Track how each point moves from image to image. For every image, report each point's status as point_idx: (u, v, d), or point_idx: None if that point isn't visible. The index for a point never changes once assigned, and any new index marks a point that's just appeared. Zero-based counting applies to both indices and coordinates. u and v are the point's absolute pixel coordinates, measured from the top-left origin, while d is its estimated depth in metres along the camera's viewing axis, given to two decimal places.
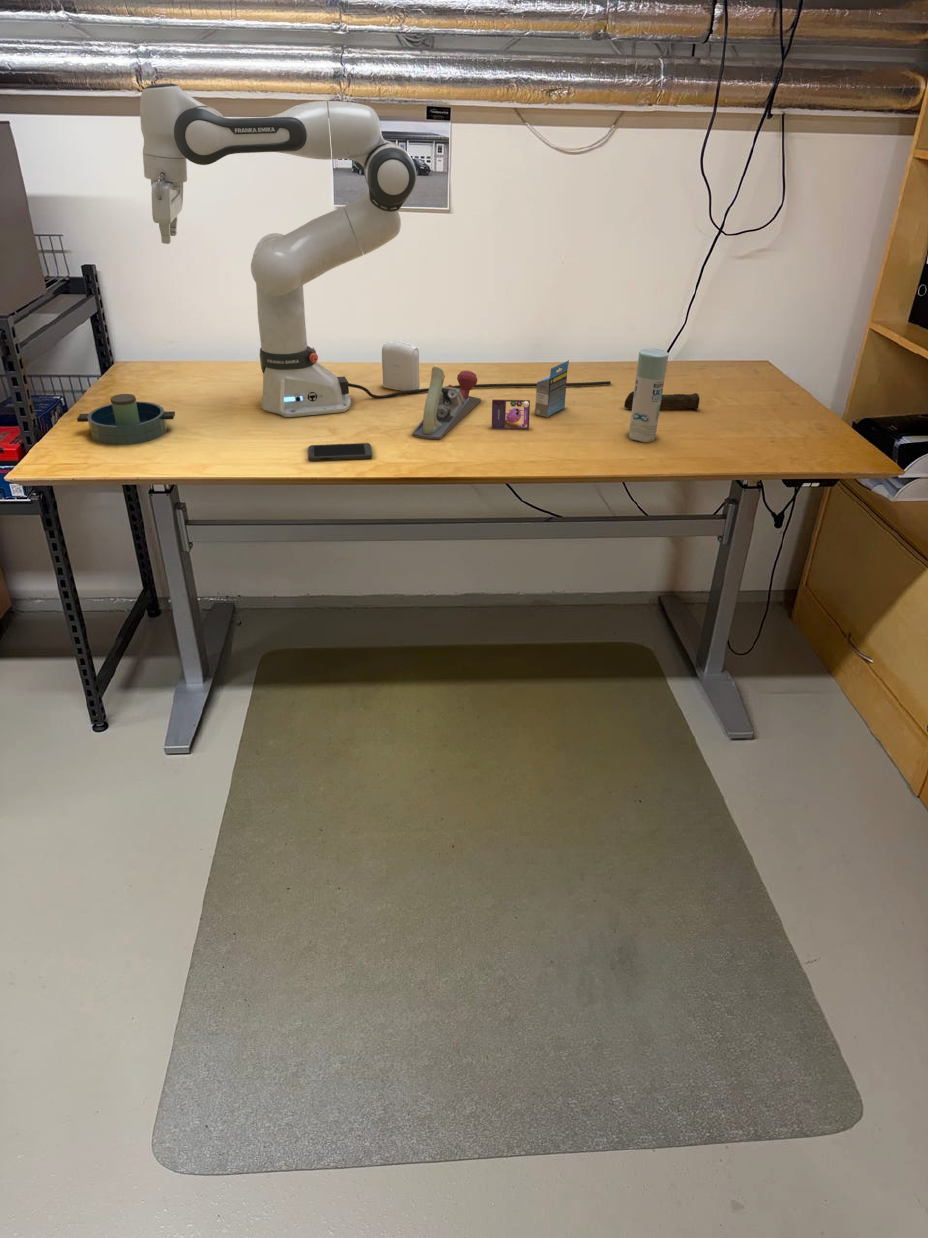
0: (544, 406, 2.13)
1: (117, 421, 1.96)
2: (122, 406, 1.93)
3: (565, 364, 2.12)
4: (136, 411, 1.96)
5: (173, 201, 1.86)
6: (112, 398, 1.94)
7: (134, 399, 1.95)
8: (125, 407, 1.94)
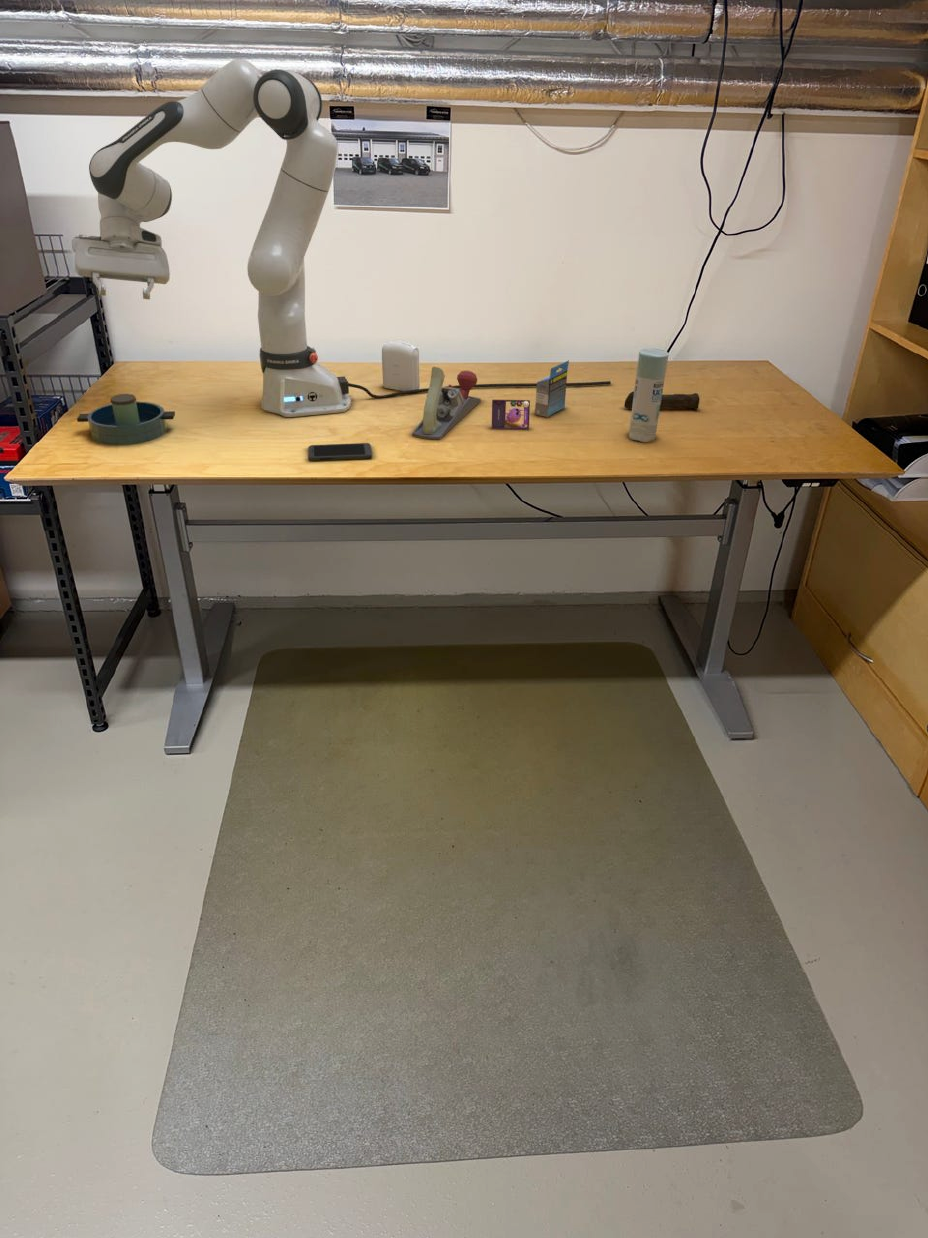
0: (544, 406, 2.13)
1: (117, 421, 1.96)
2: (122, 406, 1.93)
3: (565, 364, 2.12)
4: (136, 411, 1.96)
5: (106, 256, 1.94)
6: (112, 398, 1.94)
7: (134, 399, 1.95)
8: (125, 407, 1.94)
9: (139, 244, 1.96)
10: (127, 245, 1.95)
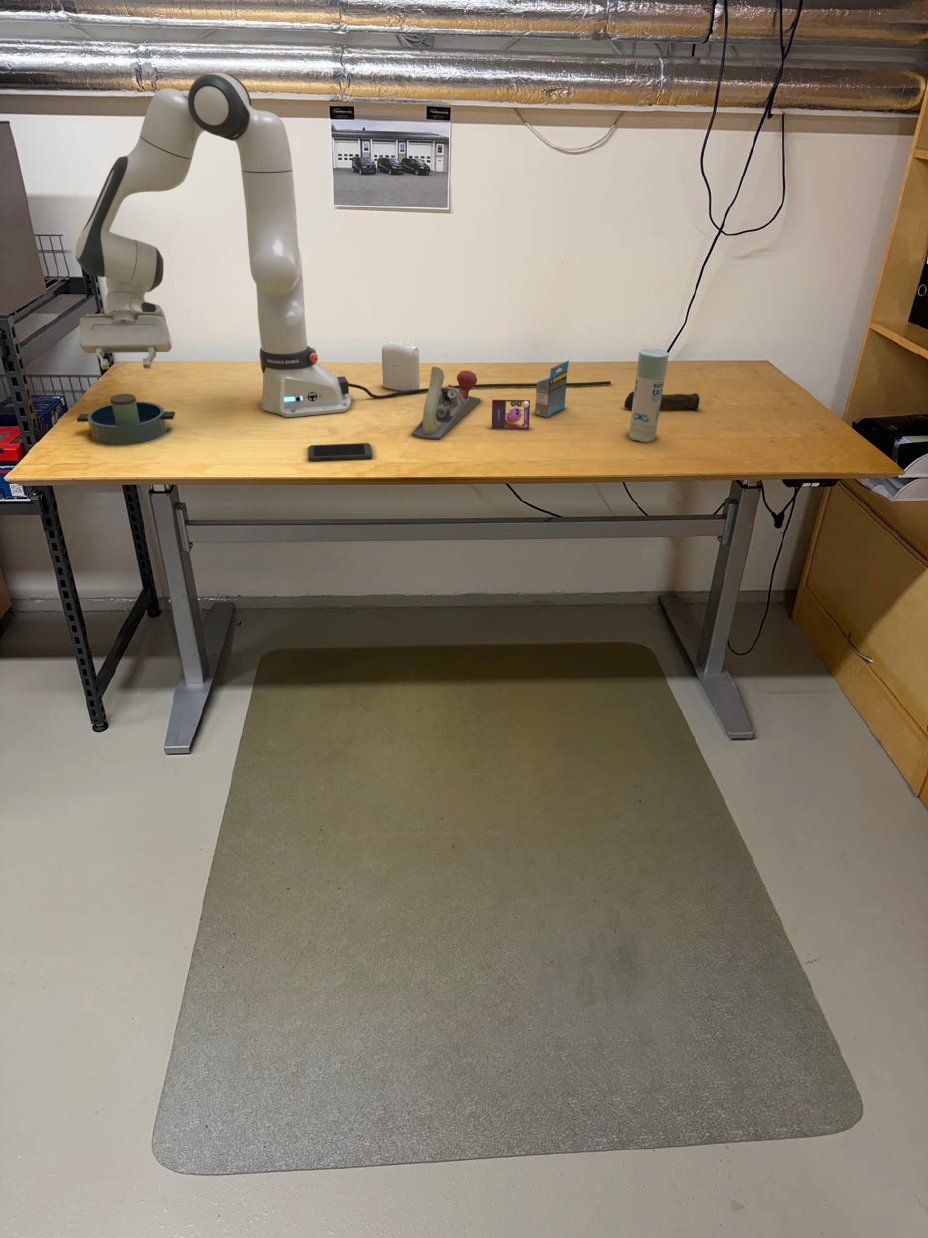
0: (544, 406, 2.13)
1: (117, 421, 1.96)
2: (122, 406, 1.93)
3: (565, 364, 2.12)
4: (136, 411, 1.96)
5: (108, 331, 1.99)
6: (112, 398, 1.94)
7: (134, 399, 1.95)
8: (125, 407, 1.94)
9: (139, 316, 2.00)
10: (127, 318, 1.99)
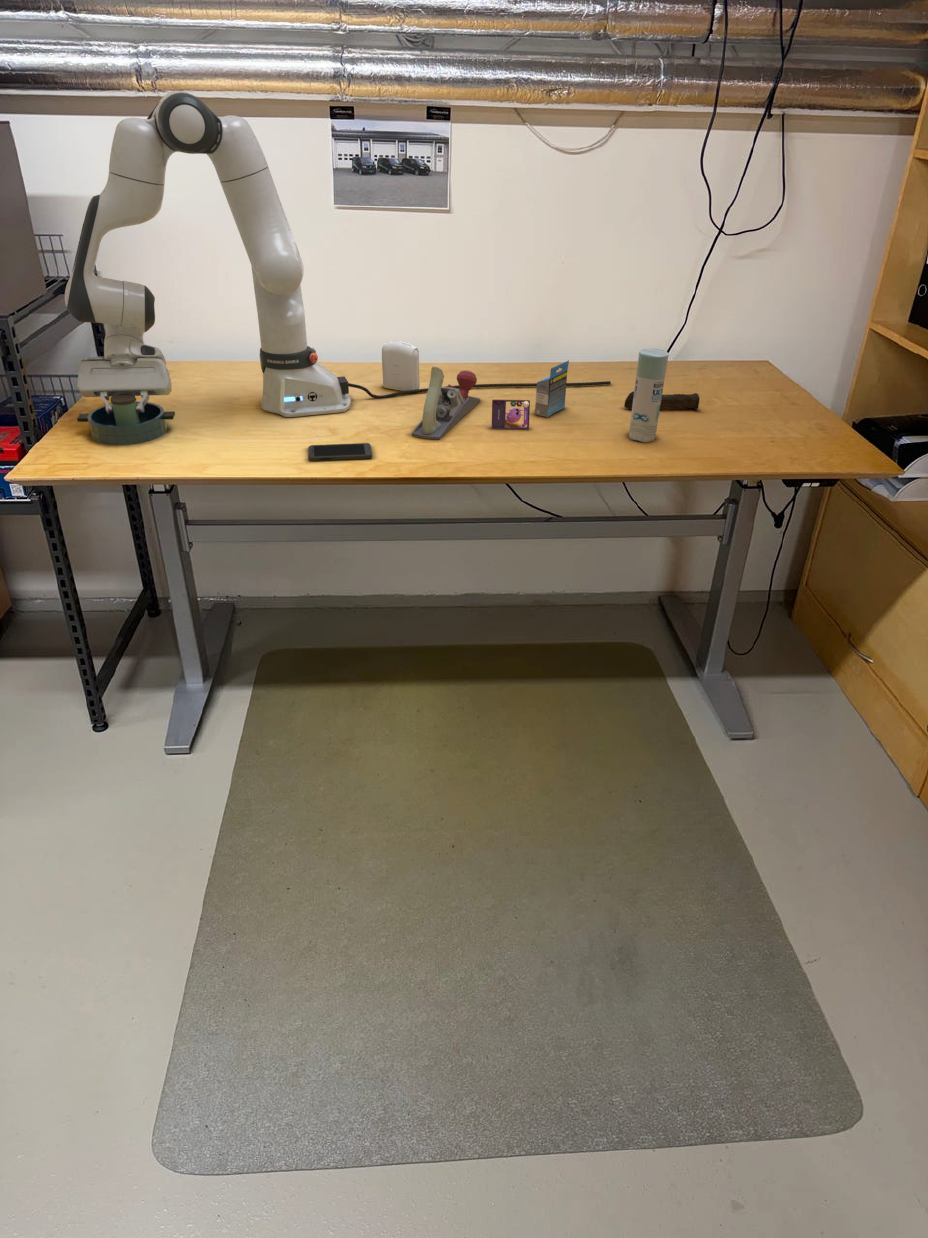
0: (544, 406, 2.13)
1: (117, 421, 1.96)
2: (122, 406, 1.93)
3: (565, 364, 2.12)
4: (136, 411, 1.96)
5: (107, 374, 1.95)
6: (112, 398, 1.94)
7: (134, 399, 1.95)
8: (125, 408, 1.94)
9: (138, 359, 1.96)
10: (126, 362, 1.95)
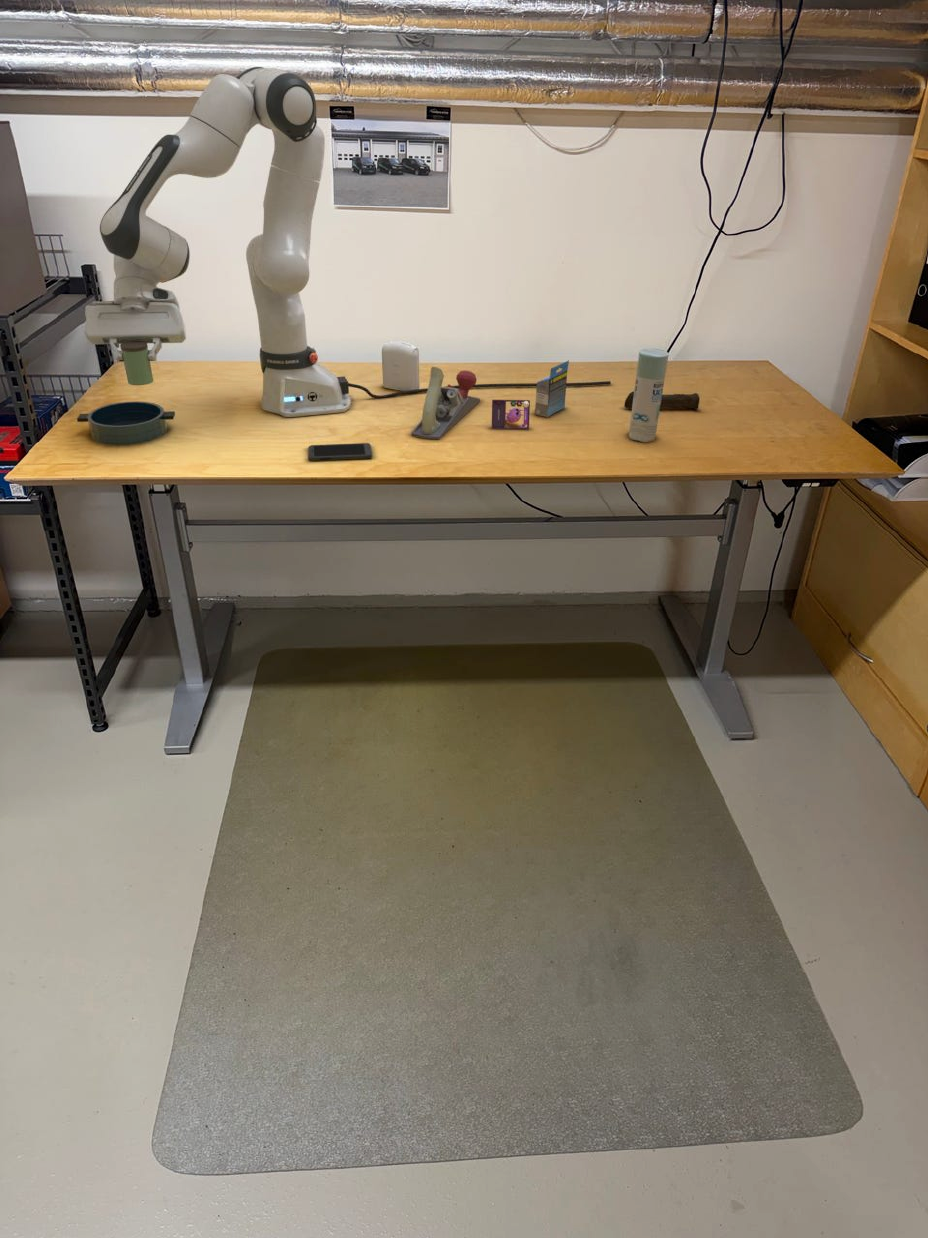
0: (544, 406, 2.13)
1: (127, 370, 1.82)
2: (133, 353, 1.80)
3: (565, 364, 2.12)
4: (148, 359, 1.83)
5: (117, 320, 1.82)
6: (122, 344, 1.80)
7: (146, 346, 1.81)
8: (136, 355, 1.80)
9: (150, 303, 1.82)
10: (137, 306, 1.82)
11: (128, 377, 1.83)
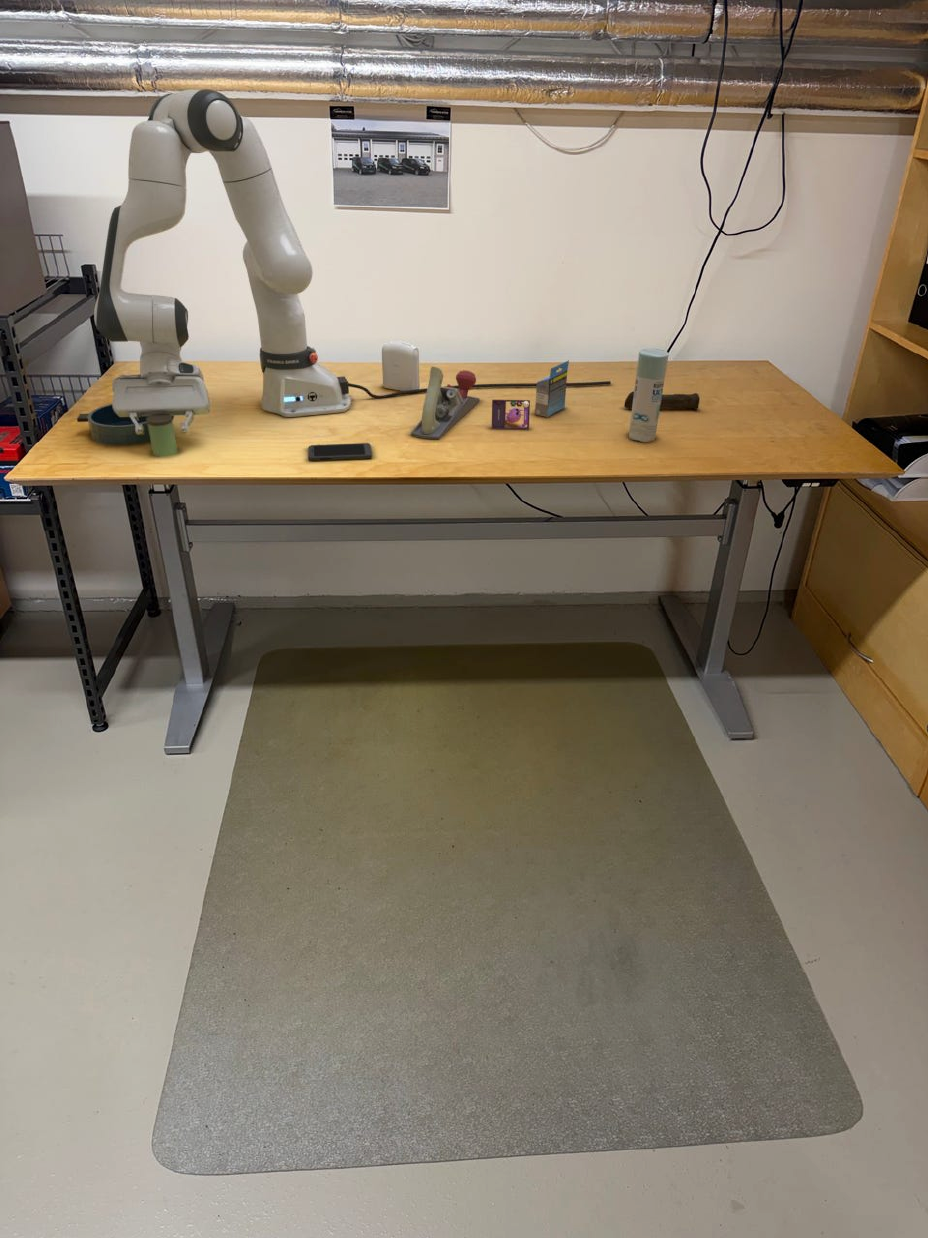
0: (544, 406, 2.13)
1: (153, 442, 1.86)
2: (159, 427, 1.84)
3: (565, 364, 2.12)
4: (173, 432, 1.87)
5: (143, 394, 1.86)
6: (148, 418, 1.85)
7: (171, 419, 1.85)
8: (161, 428, 1.84)
9: (176, 377, 1.87)
10: (164, 380, 1.86)
11: (153, 449, 1.87)
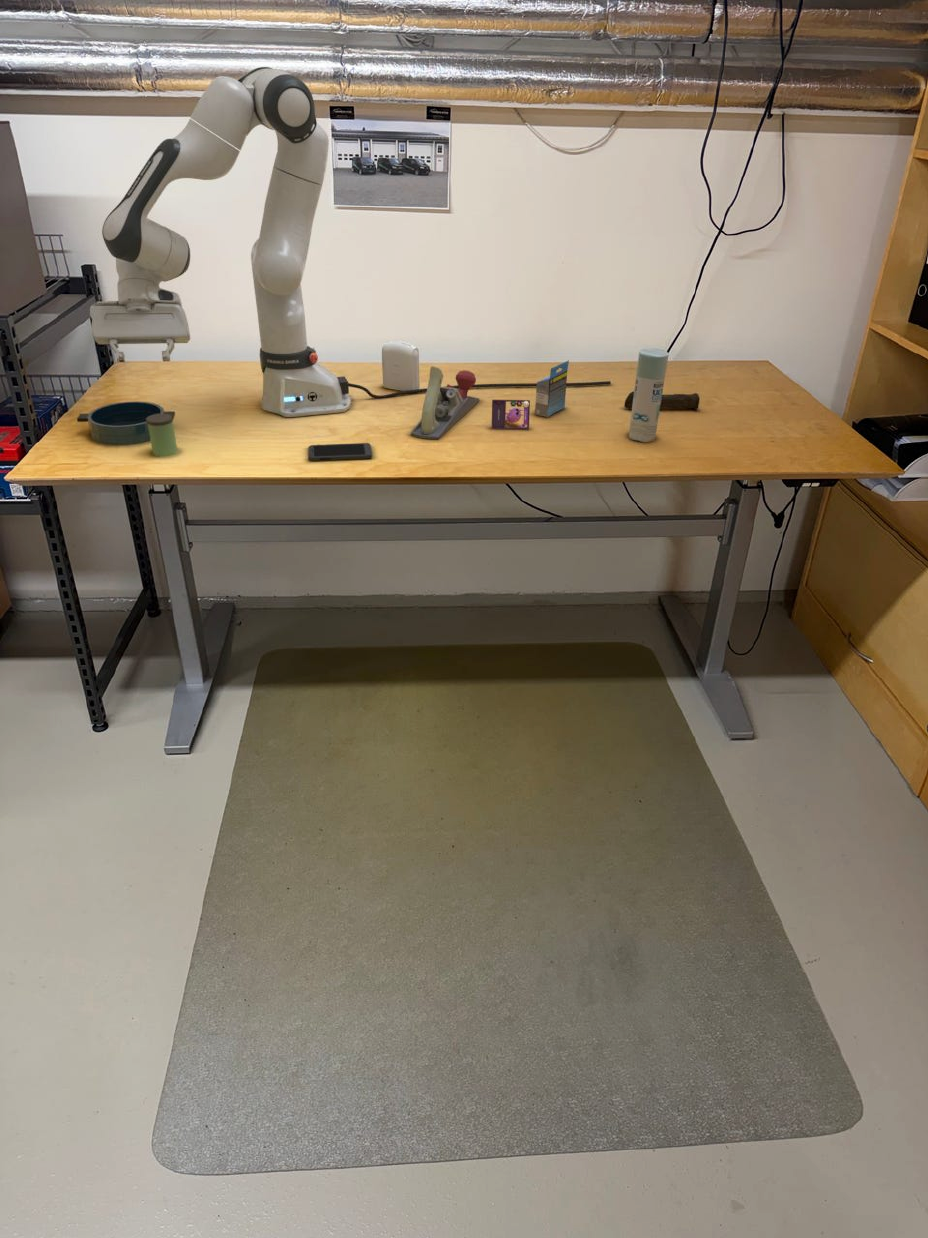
0: (544, 406, 2.13)
1: (153, 442, 1.86)
2: (159, 427, 1.84)
3: (565, 364, 2.12)
4: (173, 432, 1.87)
5: (123, 320, 1.86)
6: (148, 418, 1.85)
7: (171, 419, 1.85)
8: (161, 428, 1.84)
9: (156, 305, 1.87)
10: (143, 307, 1.86)
11: (153, 449, 1.87)
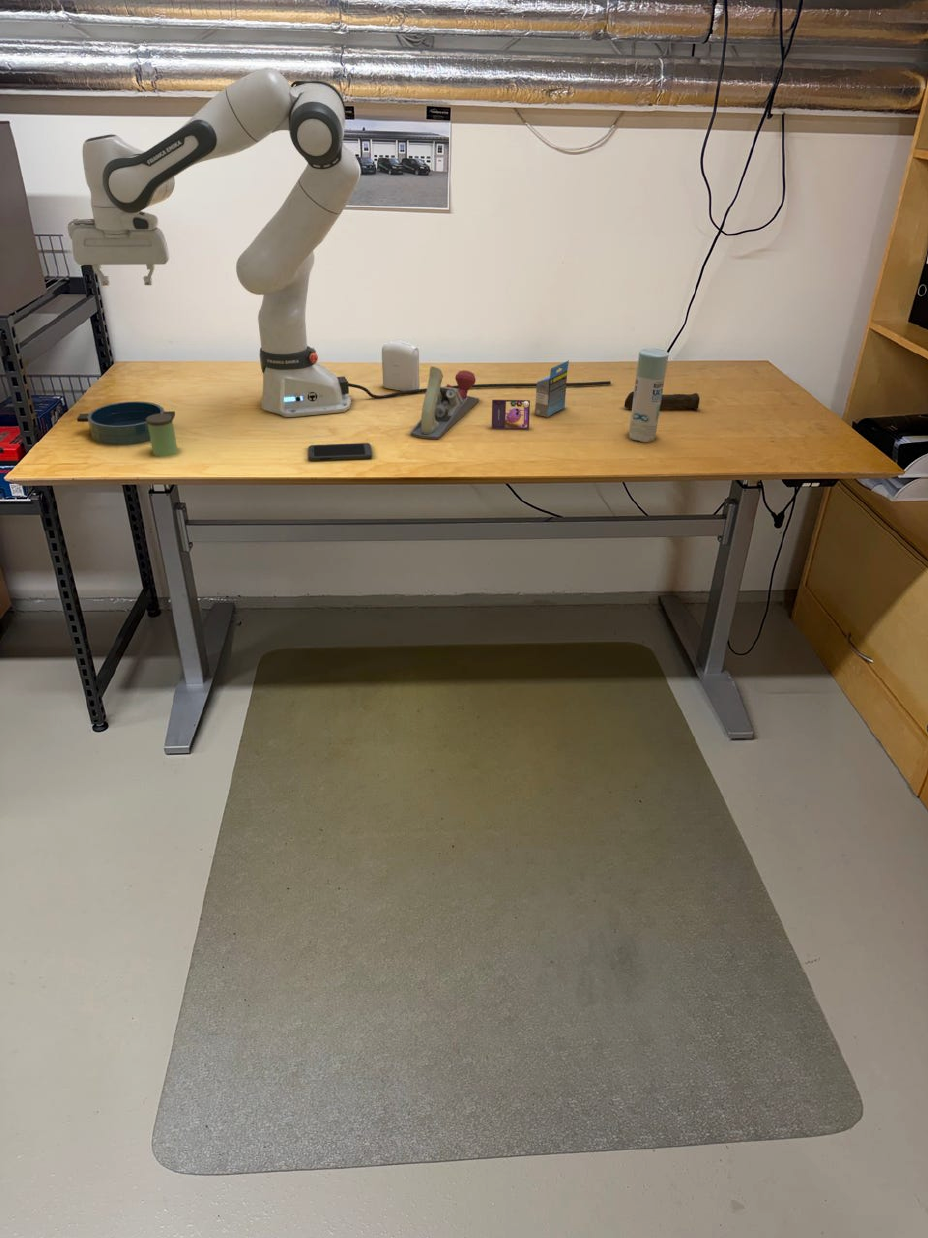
0: (544, 406, 2.13)
1: (153, 442, 1.86)
2: (159, 427, 1.84)
3: (565, 364, 2.12)
4: (173, 432, 1.87)
5: (102, 247, 1.90)
6: (148, 418, 1.85)
7: (171, 419, 1.85)
8: (161, 428, 1.84)
9: (132, 233, 1.89)
10: (120, 236, 1.89)
11: (153, 449, 1.87)
